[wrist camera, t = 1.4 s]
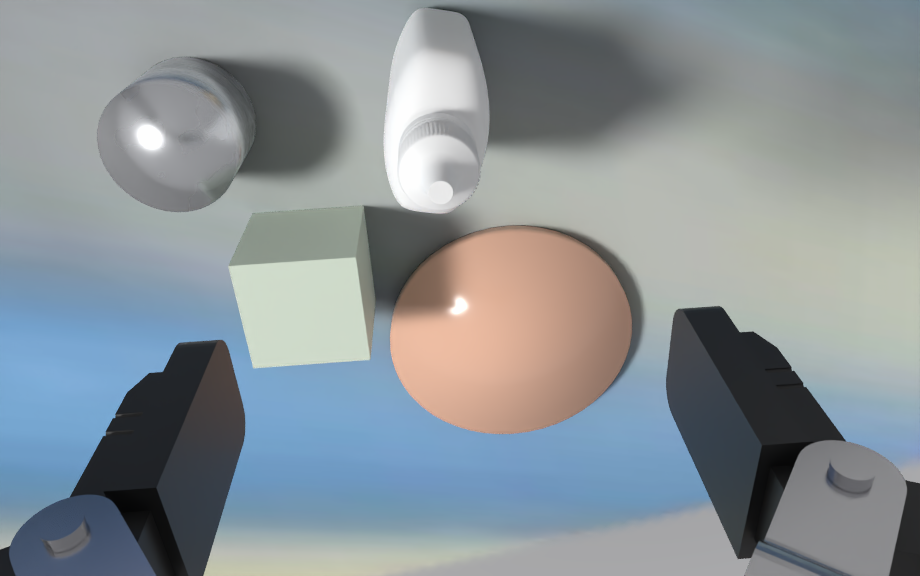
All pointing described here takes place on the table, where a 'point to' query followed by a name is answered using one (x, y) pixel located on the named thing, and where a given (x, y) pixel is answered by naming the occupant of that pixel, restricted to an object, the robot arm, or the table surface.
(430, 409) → the salmon disc
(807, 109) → the table surface
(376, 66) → the table surface
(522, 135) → the table surface
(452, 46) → the eye dropper bottle
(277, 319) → the sage block
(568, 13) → the table surface
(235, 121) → the steel puck
